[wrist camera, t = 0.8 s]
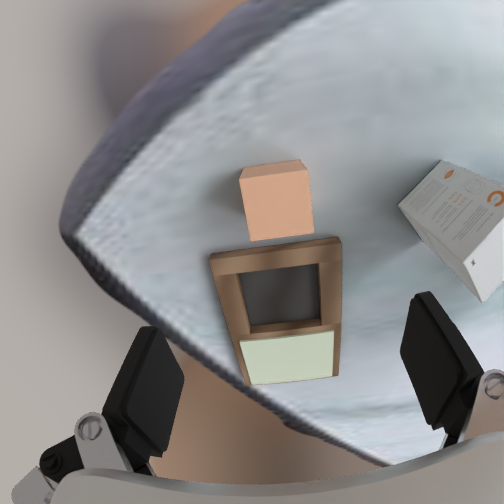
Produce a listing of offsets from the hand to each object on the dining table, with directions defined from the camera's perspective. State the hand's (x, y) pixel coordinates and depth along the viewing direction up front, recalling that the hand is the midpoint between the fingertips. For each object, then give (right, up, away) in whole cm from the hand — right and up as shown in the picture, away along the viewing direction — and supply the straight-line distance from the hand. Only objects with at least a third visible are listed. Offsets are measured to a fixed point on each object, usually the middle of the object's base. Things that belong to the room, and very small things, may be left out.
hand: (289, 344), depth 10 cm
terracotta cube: (+1, +10, +18) cm, 21 cm away
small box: (+19, +9, +17) cm, 28 cm away
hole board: (+3, -6, +26) cm, 26 cm away
